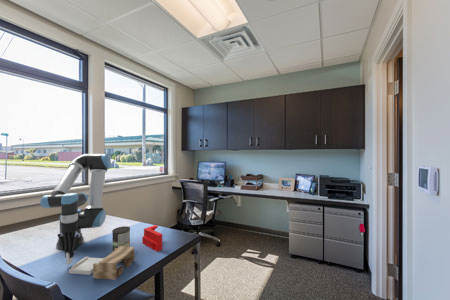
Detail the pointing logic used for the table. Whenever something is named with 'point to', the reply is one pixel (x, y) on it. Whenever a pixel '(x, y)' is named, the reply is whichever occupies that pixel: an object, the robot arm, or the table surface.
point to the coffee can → (121, 237)
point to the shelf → (113, 263)
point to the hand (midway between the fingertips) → (69, 263)
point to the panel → (84, 266)
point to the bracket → (152, 238)
